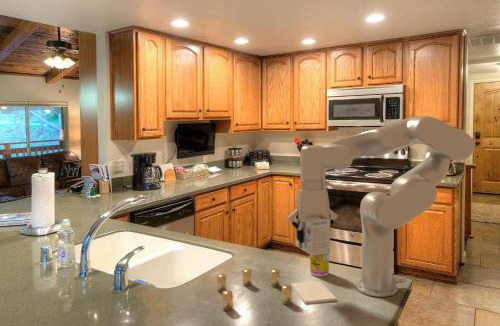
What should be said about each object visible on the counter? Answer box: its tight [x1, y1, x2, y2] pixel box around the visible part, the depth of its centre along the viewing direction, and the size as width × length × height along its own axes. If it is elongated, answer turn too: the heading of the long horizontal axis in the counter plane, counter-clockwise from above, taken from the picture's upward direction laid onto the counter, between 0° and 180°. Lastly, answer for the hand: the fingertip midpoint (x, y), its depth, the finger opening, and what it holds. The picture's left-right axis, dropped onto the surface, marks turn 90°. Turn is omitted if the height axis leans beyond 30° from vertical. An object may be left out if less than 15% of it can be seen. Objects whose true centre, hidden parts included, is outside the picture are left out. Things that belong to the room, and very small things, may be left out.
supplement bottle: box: [309, 253, 330, 278], centre depth 144 cm, size 7×7×13 cm
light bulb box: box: [295, 217, 331, 256], centre depth 127 cm, size 11×7×11 cm, turn 21°
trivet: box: [290, 280, 337, 305], centre depth 129 cm, size 10×14×1 cm
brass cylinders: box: [216, 268, 293, 312], centre depth 128 cm, size 21×19×5 cm
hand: (312, 240), depth 127 cm, fingers closed on light bulb box, 7 cm apart
